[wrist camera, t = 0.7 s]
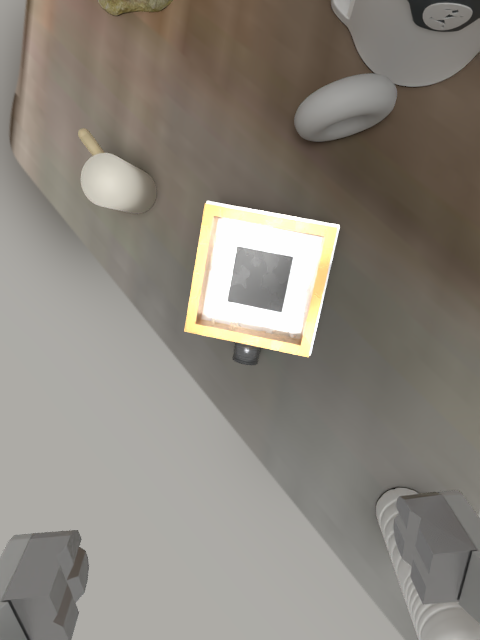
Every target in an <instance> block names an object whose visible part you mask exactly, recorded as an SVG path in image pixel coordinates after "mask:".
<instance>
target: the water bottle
mask: <svg viewBox="0 0 480 640" xmlns="http://www.w3.org/2000/svg"><path fill="white" fill-rule="evenodd" d="M413 494H419V493H417V492H416V491H414V490H410V489H407V488H395V489H394V490H393V489H392V490H389V491H387V492H385V493H384V494H383V495H382V496H381V498H380V499H379V500H378V502H377V505H376V516H377V520H378V523H379V526H380V529H381V531H382V534H383V537H384V540H385V543H386V546H387V549H388V552H389V554H390V558H391V561H392V563H393V566H394V569H395V573H396V575H397V578H398V581H399V584H400V587H401V590H402V593H403V595H404V598H405V601H406V604H407V607H408V610H409V613H410V615H411V619H412V621H413V624H414V627H415V630H416V633H417V636H418V639H419V640H480V624H479V623H478V622H477V621H476V620H475V619H474V618H473V617H472V616H471V615H470V614H468V613H467V612H466V611H465V610H464V609H463V608H462V607H461V606H460V605H459V604H458V603H459V602H449V603H437V604H424V605H423V604H422V602H421V599H420V597H419V595H418V593H417V591H416V588H415V586H414V584H413V582H412V580H411V577H410V574H411V568H412V566H411V565H409V564H408V563H407V562H406V561H404V560H403V559H402V557H401V555H400V553H399V550H398V548H397V544H396V541H395V536H394V530H393V526H394V518H395V517H396V516H397V515H398V514H399V512H398V510H397V508H396V502H397V499H398V497H399V496H405V495H413Z"/></svg>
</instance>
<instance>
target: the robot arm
mask: <svg viewBox="0 0 480 640" xmlns="http://www.w3.org/2000/svg"><path fill="white" fill-rule="evenodd" d="M331 7H332V10H333V11H334V13H335V14H336V15H337V17H338V18H339V19H340V20H341V21H342V22H343V23H344V24H345V25H346V26H347V27H348V29H349V30H350V33H351V35H352V38H353V41H354V43H355V46H356V49H357V51H358V53H359V55H360V56H361V58H362V60H363V61H364V62H365V64H366V65H367V66H368V67H369V68H370V69H371V70H372V71H373V72H374V73H375V74H380V75H384V76H386V77H388V78H389V79H390V80H391V81H392V82H393V83H394V84H397V85H402V86H409V87H419V86H426V85H431V84H435V83H438V82H440V81H443V80H445V79H447V78H449V77H451V76H452V75H454V74H456V73H457V72H458V71H460V70H461V69H462V68H464V67H465V66H466V65H467V64H468V63H469V62H470V61H471V60H472V59H473V58H474V57H475V56H476V55H477V54H478V53H479V52H480V0H331ZM396 508H397V510H398V512H399V514H398V515H397V516H396V517H395V518H394V526H393V530H394V536H395V541H396V544H397V548H398V550H399V553H400V555H401V557H402V559H403V560H404V561H406V562H407V563H408V564H409V565H411V566H412V568H411V574H410V577H411V580H412V582H413V584H414V586H415V588H416V591H417V593H418V595H419V597H420V599H421V602H422V604H423V605H424V604H437V603H449V602H459V603H458V604H459V605H460V606H461V607H462V608H463V609H464V610H465V611H466V612H467V613H468V614H470V615H471V616H472V617H473V618H474V619H475V620H476V621H477V622H478V623H479V624H480V518H479V517H478V515H477V514H476V512H475V511H474V509H473V508H472V507H471V505H470V504H469V502H468V501H467V500H466V498H465V497H464V495H463V494H462V493H461V492H460V491H458V490H453V491H444V492H430V493H422V494H413V495H405V496H399V497H398V499H397V502H396ZM80 542H81V537H80V534H79V532H78V530H72V531H59V532H45V533H33V534H22V535H14V536H13V537H12V538H11V539H10V541H9V542H8V543H7V545H6V547H5V549H4V551H3V553H2V556H1V558H0V640H71V638H72V635H73V632H74V628H75V624H76V621H77V617H78V614H79V612H78V609H77V606H76V604H75V603H76V601H77V600H78V599H79V598H80V597H81V596H82V595H83V594H84V592H85V588H86V584H87V580H88V570H89V565H88V557H87V554H86V551H85V550H83V549H82V548H80V547H79V545H80Z"/></svg>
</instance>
